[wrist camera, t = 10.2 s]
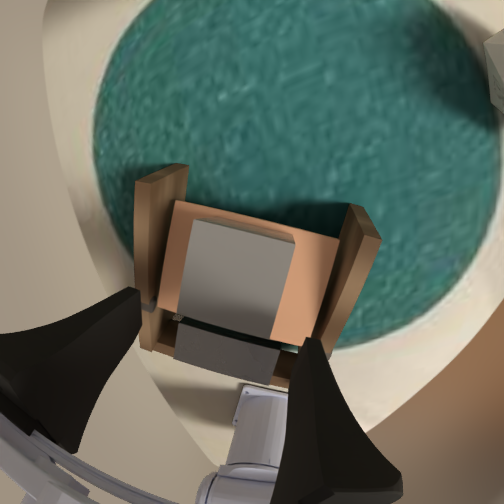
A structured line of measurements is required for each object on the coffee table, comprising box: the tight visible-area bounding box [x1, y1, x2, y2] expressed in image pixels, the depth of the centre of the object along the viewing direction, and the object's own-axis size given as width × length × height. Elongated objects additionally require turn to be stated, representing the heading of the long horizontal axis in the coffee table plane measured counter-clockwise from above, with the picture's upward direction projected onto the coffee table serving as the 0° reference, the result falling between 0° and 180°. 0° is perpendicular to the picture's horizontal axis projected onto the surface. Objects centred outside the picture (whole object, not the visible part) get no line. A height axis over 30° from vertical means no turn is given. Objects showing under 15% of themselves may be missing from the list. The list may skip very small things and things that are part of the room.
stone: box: [176, 216, 296, 339], centre depth 15 cm, size 4×4×4 cm
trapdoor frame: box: [134, 163, 382, 388], centre depth 20 cm, size 14×13×6 cm
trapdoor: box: [157, 200, 340, 386], centre depth 19 cm, size 11×10×2 cm
